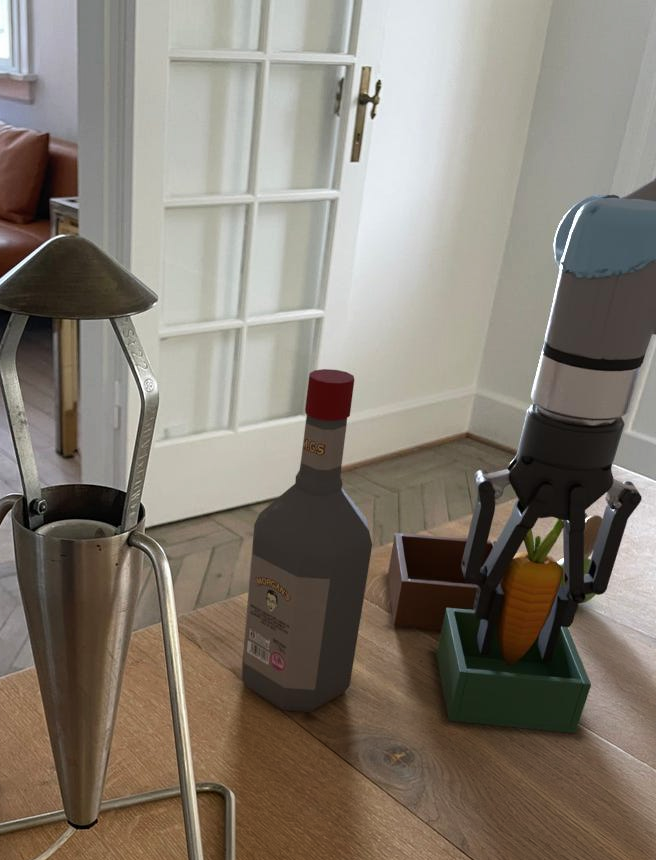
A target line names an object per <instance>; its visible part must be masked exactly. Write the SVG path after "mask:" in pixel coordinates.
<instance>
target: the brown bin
mask: <svg viewBox="0 0 656 860" xmlns="http://www.w3.org/2000/svg"><path fill="white" fill-rule="evenodd" d="M466 542H467V538H460V537H448V536H437V535H425V534H414V533H413V534H412V533H401V532H395V533H394V536H393V542H392V548H391V554H390V558H389V559H390V560H389V565H388V570H387V580H388V589H389V597H390V606H391V613H392V622H393V626H394V627H397V628H398V627H400V628H410V629H420V630H430V631H431V630H432V631H441V630H442V625H443V621H444V616H445V611H446V608H453V609H454V608H455V609H466V610H474V607H473V606H474V601H475V598H476V593H477V589H478V585H476V584H474V583H473V584H469V583H467V582H466V581H465V579H464V575H463V571H462V568H461V564H462V559H463V555H464V551H465V546H466ZM496 542H497V540H496V541H495V540H488V541H487V545H486V549H485V553H484V557H483V561H482V565H481V567H483V565H484V564H485V562H486V560H487V558H488V556H489V554H490V553H491V551H492V549H493V547H494V545H495V543H496ZM502 580H503V578H502V579H501V581H500V584H502Z"/></svg>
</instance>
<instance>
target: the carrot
mask: <svg viewBox="0 0 656 860" xmlns="http://www.w3.org/2000/svg"><path fill="white" fill-rule="evenodd" d="M564 525H565V524H564V522H563V520H560V519H557V518H555V521H554V523H553V525H552V527H551V529H550V532H549V533H547V535H545V536H544V538H543V539H542V537H541V536H539V535H537V536H535V538H534V535H533V530H532V529H533V528H532V529H530V530H529V531H528V533H527V535H526V537H525V538H524V540H523V542H524V546H525V550H526V551H520V552H517V553H516V554H515V556H514V558H513V560H512V562H511V563H510V565H509V567H508V569H507V571H506V572H505V574H504V576H503V580H502V584H501V587H502V590H503V593H504V596H503V600H502V604H501V608H500V612H499V616H498V620H497V636H498V642H499V647H500V650H501V653H502V656H503V659H504V660H505V662H506V663H507V664H508V665H512V664H515V663H516V662H517V661H518V660H519V659H520V658H522V657H523V656H524V655H525V653H526V652H527V651H528V649H529V648H530V647H531V646H532V644H533V643H534V642H535V641H536V639H537V637H538V636H539V634H540V632H541V630H542V628H543V627H544V625H545V623H546V621H547V619H548V617H549V615H550V613H551V610H552V607H553V604H554V601H555V599H556V596H557V593H558V590H559V586H560V583H561V580H562V577H563V569H562V567H561V566H560V565H559V564H558V563H557V562H558V561H556V559H554V557H552V555H549V553H550V552H551V550H552V548H553V547H554V545H555V544H556V543H557V540H558V538H559V537H560V535H561V533H562V532H563V527H564Z"/></svg>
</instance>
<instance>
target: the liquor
mask: <svg viewBox="0 0 656 860" xmlns="http://www.w3.org/2000/svg"><path fill="white" fill-rule="evenodd" d="M354 386H355V376H354V375H353V374H351V373H349V372H347V371H343V370H339V369H331V368H330V369H329V368H328V369H327V368H323V369H322V368H321V369H315V370H313V371H311V372H309V374H308V383H307V391H306V398H305V407H304V413H305V414H306V417H305V425H304V431H303V440H302V441H303V442H302V450H301V457H300V463H299V470H298V471H297V473H296V475H295V480H294V484H293V485H291V486H290V487H289V488H288V489H286V491H284V492H283V493H282V494H281V495H279V497H277V498H276V499H275V500H274V501H273V502H271V503H269V505H267V507H265V508H264V509H262V511H260V512H259V514H258V516H257V518H256V520H255V522H254V523H253V535H252V547H251V557H250V570H249V581H248V594H247V605H246V617H245V628H244V639H243V650H242V651H243V652H242V663H241V664H242V665H241V667H242V668H241V680H242V682H243V684H244V685H245V687H246V688H247V689H249V690H251V691H252V692H254V693H255V694H257V695H259V696H260V697H261V698H263V699H264V700H266V701H267V702H269V703H271V704H272V705H274V706H275V707H277V708H278V709H280V710H282V711H285V712H304V713H310V712H312V711H314V710H316V709H317V708H320V707H321V706H323V705H325V704H327V703H329V702H330V701H332V700H333V699H336V698H337V697H339V696H341V695H342V694H344V693H345V692H346V691H347V689H348V688H350V686H351V679H352V674H353V668H354V661H355V655H356V648H357V641H358V636H359V630H360V625H361V618H362V612H363V611H362V610H363V606H364V600H365V599H364V598H365V593H366V588H367V587H366V586H367V581H368V574H369V568H370V562H371V557H372V549H373V542H372V537H371V533H370V529H369V525H368V521H367V518H366V517H365V516H364V514H363V512H362V511H361V510H360V509H359V508H358V506H357V504H355V502H354V501H353V500H352V499H351V498H350V496H349V495H348V494H347V492H346V491H345V490H344V488H343V485H344V482H343V479H342V465H343V458H344V449H345V443H346V442H345V441H346V432H347V427H348V426H347V424H348V418H350V417H351V410H352V401H353V396H354V395H353V394H354Z"/></svg>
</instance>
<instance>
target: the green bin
mask: <svg viewBox="0 0 656 860" xmlns="http://www.w3.org/2000/svg"><path fill="white" fill-rule="evenodd" d="M480 623H481V619H476V615H475V612H474V610H466V609H455V608H454V609H453V608H446V611H445V616H444V621H443V625H442V630H440V635H439V639H438V644H437V649H436V653H435V654H436V659H437V664H438V669H439V675H440V680H441V685H442V691H443V696H444V701H445V707H446V713H447V718H448V721H449V722H459V723H468V724H477V725H486V726H487V725H488V726H499V727H507V728H517V729H527V730H535V731H536V730H537V731H547V732H555V733H556V732H557V733H566V734H567V733H568V734H576V733H577V730H578V727H579V724H580V720H581V717H582V714H583V712H584V708H585V706H586V703H587V699H588V696H589V693H590V690H591V687H592V683H591V681H590V677H589V675H588V673H587V671H586V669H585V666H584V663H583V661H582V659H581V656H580V653H579V651H578V649H577V646H576V644H575V642H574V641H575V640H574V639H573V637H572V634H571V631H570V629H569V627H561V628H560V632H559V635H558V639H557V642H556V646H555V649H554V652H553V656H552V659H551V661H545V660H542V657H541V654H540V651H539V648H538V646H537V643H538V640H539V636H540V634H539V636H538V637H537V639H536V641H535V642H534V643H533V644H532V646H531V647H530V648H529V649H528V651H527V652H526V653H525V655H524V656H523V657H522V658H520V659H519V660H518V661H517V662H516V663H515V664H512V665H508V664H507V663H506V662H505V660H504V659H503V656H502V653H501V650H500V647H499V642H498V636H497V624H496V628H495V632H494V636H493V640H492V644H491V648H490V652H489V655H482V654H480V650H479V646H478V642H477V635H478V631H479V627H480ZM540 633H541V632H540Z"/></svg>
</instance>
